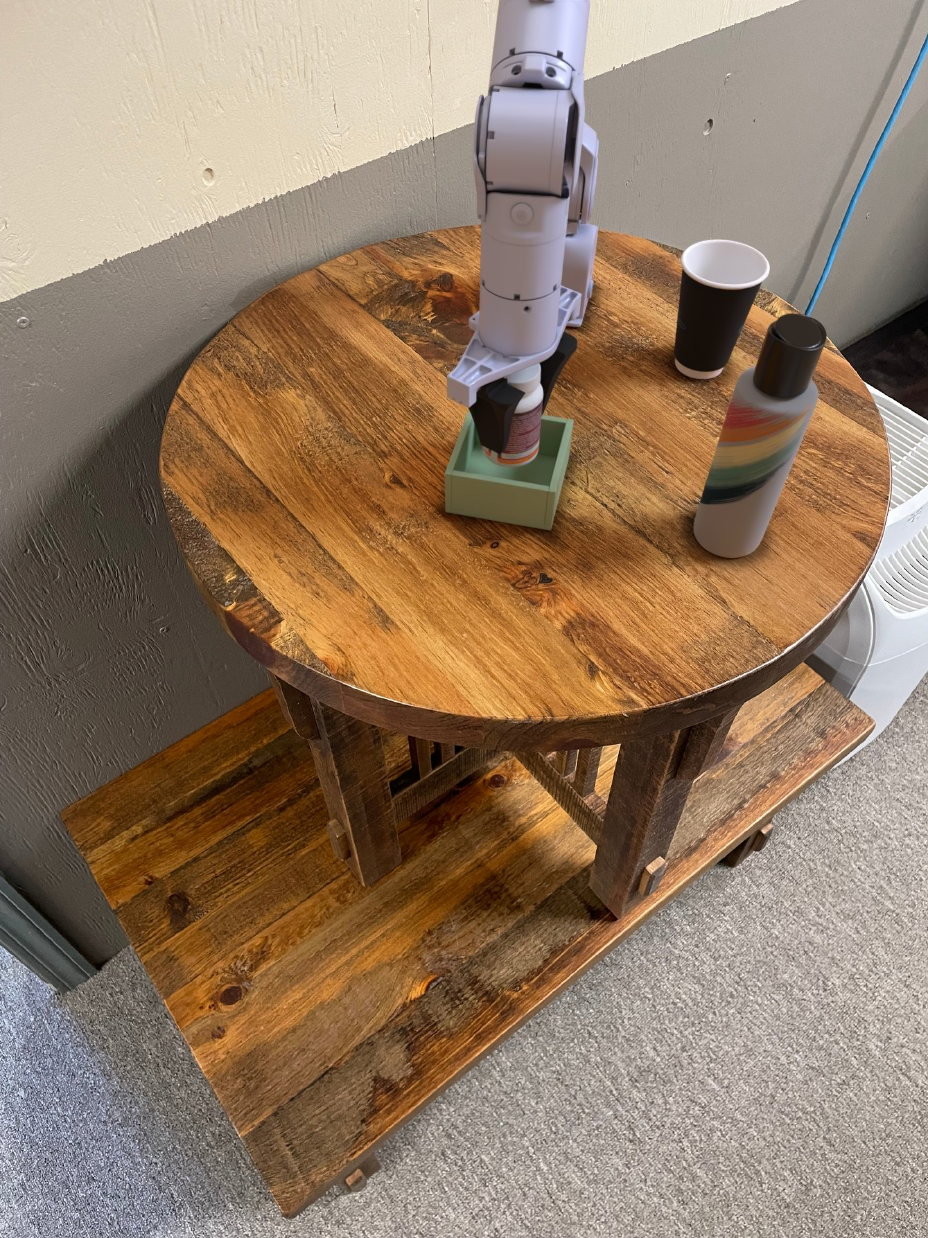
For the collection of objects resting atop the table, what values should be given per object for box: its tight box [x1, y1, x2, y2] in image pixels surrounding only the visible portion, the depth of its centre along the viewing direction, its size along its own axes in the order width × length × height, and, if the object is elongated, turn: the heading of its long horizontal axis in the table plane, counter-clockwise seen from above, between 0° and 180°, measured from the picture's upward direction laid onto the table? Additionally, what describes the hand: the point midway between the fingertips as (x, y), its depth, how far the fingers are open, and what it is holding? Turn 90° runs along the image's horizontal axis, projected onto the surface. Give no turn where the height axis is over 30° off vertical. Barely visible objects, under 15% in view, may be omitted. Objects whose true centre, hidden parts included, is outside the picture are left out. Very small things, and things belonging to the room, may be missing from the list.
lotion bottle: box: [693, 312, 828, 559], centre depth 65 cm, size 6×6×20 cm
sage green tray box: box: [444, 408, 575, 531], centre depth 74 cm, size 9×9×4 cm
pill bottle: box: [483, 363, 543, 468], centre depth 70 cm, size 5×5×8 cm
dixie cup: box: [673, 239, 771, 380], centre depth 82 cm, size 8×8×11 cm
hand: (511, 429), depth 71 cm, fingers closed on pill bottle, 5 cm apart
